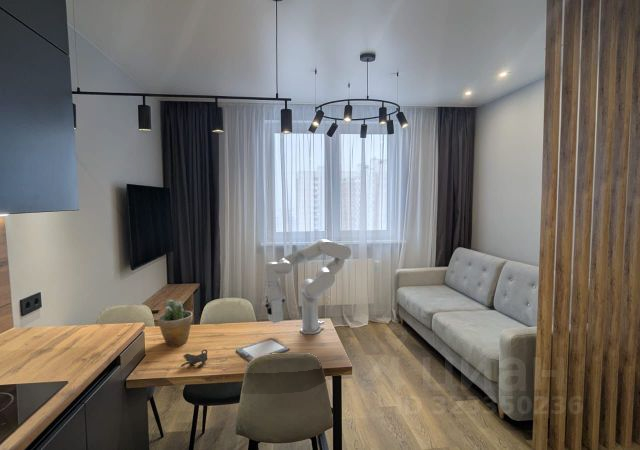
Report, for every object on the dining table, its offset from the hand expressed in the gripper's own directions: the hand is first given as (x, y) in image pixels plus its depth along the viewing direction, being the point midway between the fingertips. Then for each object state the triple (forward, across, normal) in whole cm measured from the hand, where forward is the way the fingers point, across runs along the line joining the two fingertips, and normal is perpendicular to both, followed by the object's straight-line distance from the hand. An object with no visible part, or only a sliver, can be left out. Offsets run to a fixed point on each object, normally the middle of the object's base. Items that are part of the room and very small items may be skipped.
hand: (275, 312), depth 200 cm
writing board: (+13, +17, +13) cm, 26 cm away
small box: (+5, 0, 0) cm, 5 cm away
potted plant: (+12, +48, -30) cm, 58 cm away
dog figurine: (+12, +50, +5) cm, 52 cm away
